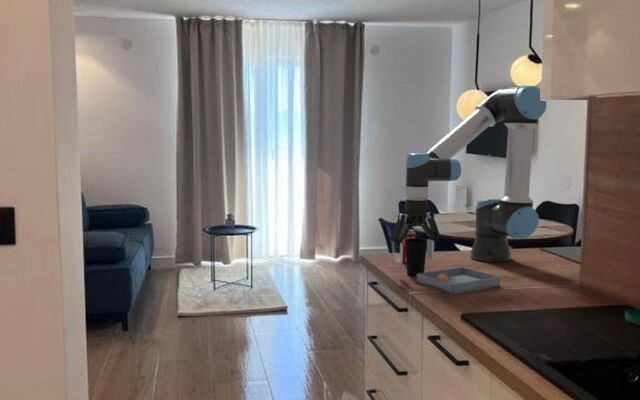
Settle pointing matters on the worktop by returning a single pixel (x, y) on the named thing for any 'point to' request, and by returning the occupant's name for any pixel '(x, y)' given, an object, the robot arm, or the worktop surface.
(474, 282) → the tray
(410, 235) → the beverage can
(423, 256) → the cup
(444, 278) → the ball
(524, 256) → the worktop surface
